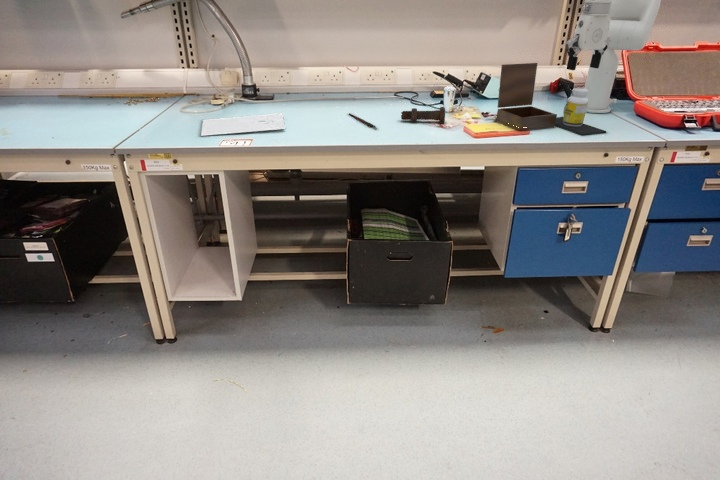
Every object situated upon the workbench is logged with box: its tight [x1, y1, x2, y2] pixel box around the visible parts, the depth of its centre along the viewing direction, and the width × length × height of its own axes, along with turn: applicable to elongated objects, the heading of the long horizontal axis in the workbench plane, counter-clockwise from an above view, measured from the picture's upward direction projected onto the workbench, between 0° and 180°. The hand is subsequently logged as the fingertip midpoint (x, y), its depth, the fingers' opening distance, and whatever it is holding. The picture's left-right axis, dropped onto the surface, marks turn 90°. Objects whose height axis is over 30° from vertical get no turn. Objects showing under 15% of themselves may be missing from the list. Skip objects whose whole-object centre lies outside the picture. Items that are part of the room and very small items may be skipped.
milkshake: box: [442, 85, 459, 113], centre depth 170 cm, size 4×5×10 cm
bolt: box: [400, 106, 446, 125], centre depth 157 cm, size 6×5×15 cm
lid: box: [497, 62, 538, 109], centre depth 159 cm, size 14×14×6 cm
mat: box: [554, 116, 607, 137], centre depth 154 cm, size 10×20×1 cm, turn 21°
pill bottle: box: [563, 87, 588, 127], centre depth 151 cm, size 6×6×12 cm
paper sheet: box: [200, 112, 286, 137], centre depth 152 cm, size 24×29×1 cm
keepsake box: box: [495, 105, 558, 132], centre depth 155 cm, size 13×14×4 cm
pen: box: [348, 112, 378, 130], centre depth 158 cm, size 1×1×23 cm
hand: (582, 68), depth 146 cm, fingers open, 9 cm apart
